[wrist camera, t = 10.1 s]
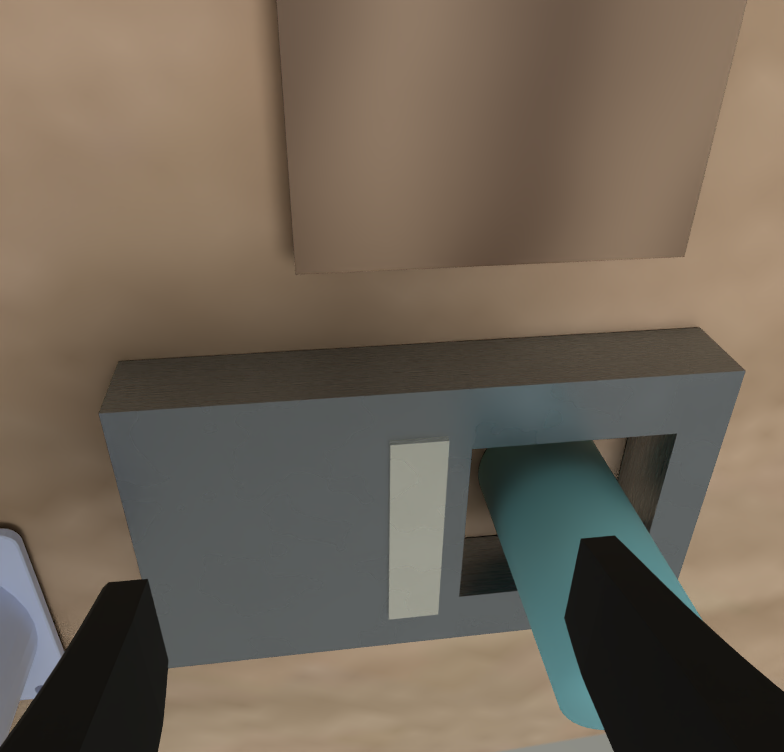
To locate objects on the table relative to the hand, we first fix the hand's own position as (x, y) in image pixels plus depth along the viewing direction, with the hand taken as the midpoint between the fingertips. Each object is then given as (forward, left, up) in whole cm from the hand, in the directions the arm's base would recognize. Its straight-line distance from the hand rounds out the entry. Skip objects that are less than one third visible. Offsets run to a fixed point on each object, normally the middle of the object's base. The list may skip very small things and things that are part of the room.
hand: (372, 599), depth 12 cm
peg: (+6, -6, -9) cm, 13 cm away
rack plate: (+2, -6, -9) cm, 11 cm away
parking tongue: (+4, +6, -9) cm, 12 cm away
